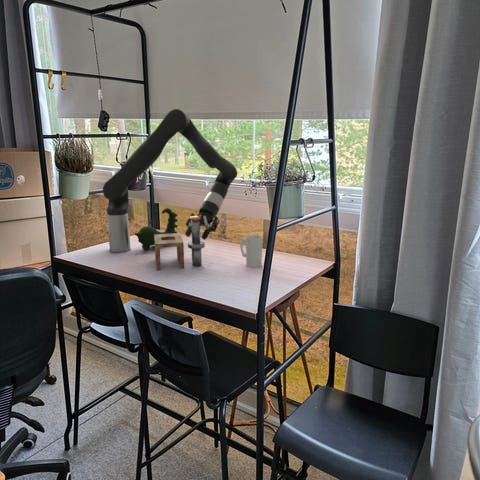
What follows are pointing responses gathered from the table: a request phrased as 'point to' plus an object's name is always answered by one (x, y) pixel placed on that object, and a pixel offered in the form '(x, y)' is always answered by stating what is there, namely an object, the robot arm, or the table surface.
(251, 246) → the mug
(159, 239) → the wooden block with hole
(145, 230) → the toy figurine
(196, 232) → the pin
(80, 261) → the table surface
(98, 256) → the table surface
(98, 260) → the table surface
